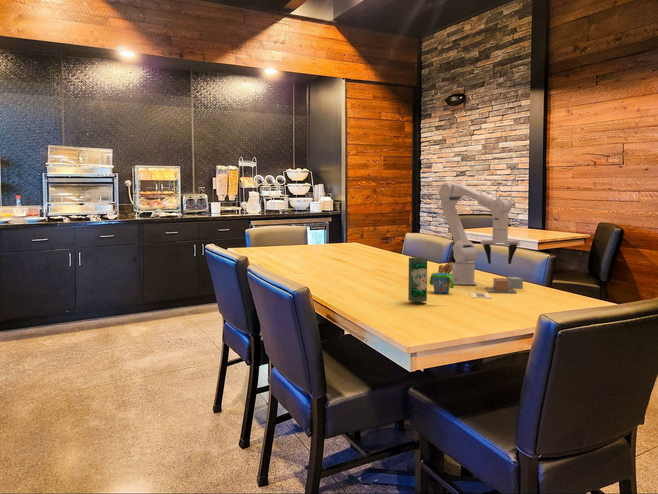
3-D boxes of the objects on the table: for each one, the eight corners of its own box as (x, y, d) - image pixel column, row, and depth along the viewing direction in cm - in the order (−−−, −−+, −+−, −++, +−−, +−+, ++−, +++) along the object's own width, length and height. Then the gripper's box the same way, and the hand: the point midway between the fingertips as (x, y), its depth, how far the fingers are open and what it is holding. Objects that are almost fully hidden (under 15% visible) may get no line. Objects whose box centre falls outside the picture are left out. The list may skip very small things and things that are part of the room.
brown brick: (495, 290, 191) (496, 280, 191) (493, 288, 198) (493, 278, 197) (508, 291, 190) (508, 280, 190) (505, 288, 197) (505, 278, 197)
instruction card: (472, 297, 180) (472, 296, 180) (469, 293, 189) (469, 292, 189) (492, 298, 178) (492, 297, 178) (488, 293, 188) (488, 292, 188)
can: (414, 302, 171) (415, 259, 170) (405, 299, 177) (405, 257, 176) (429, 301, 174) (430, 258, 173) (419, 298, 179) (420, 257, 178)
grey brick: (511, 289, 200) (511, 279, 200) (506, 286, 207) (506, 276, 207) (522, 289, 200) (522, 279, 200) (516, 286, 207) (517, 276, 207)
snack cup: (424, 291, 194) (424, 272, 193) (439, 290, 197) (440, 271, 197) (442, 296, 184) (443, 276, 183) (459, 294, 187) (459, 274, 186)
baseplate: (488, 292, 190) (489, 291, 190) (485, 288, 200) (485, 287, 200) (516, 293, 188) (516, 291, 188) (511, 289, 198) (511, 287, 198)
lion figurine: (456, 277, 232) (456, 262, 232) (450, 278, 230) (450, 262, 230) (438, 274, 243) (438, 260, 242) (432, 275, 240) (432, 260, 240)
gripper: (482, 229, 194) (481, 264, 195) (521, 230, 191) (520, 265, 192) (480, 229, 200) (479, 262, 202) (517, 229, 198) (517, 263, 199)
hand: (499, 263), depth 197 cm, fingers open, 7 cm apart
